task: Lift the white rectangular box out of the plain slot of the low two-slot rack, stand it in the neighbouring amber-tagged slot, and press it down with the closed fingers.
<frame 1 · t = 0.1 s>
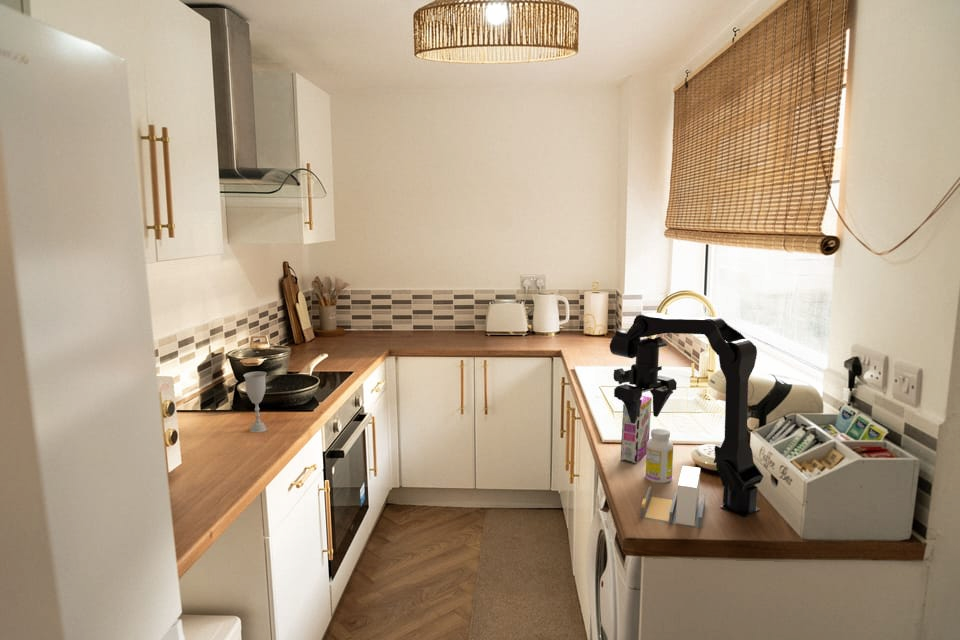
hand: (644, 419, 178), 15 cm above the countertop, tool pointing down, fingers open, 9 cm apart
slot rack: (673, 512, 158), on the countertop
candy bar box: (635, 457, 193), on the countertop
chalice: (258, 430, 214), on the countertop
white rectangular box: (687, 513, 157), resting on slot rack
supplement bottle: (658, 479, 177), on the countertop
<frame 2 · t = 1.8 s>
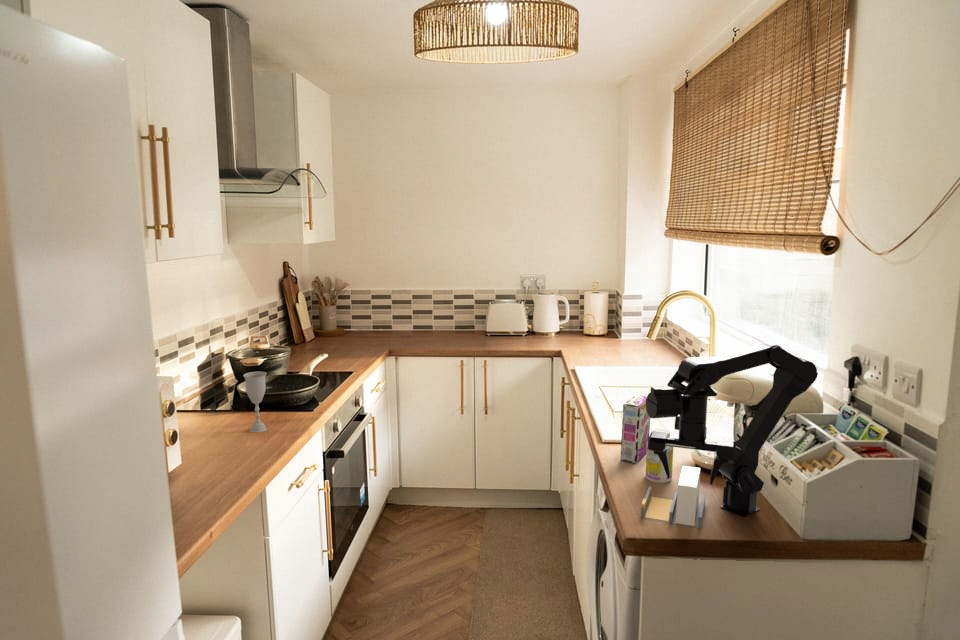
hand: (689, 480, 155), 8 cm above the countertop, tool pointing down, fingers open, 9 cm apart
nothing on the countertop moved.
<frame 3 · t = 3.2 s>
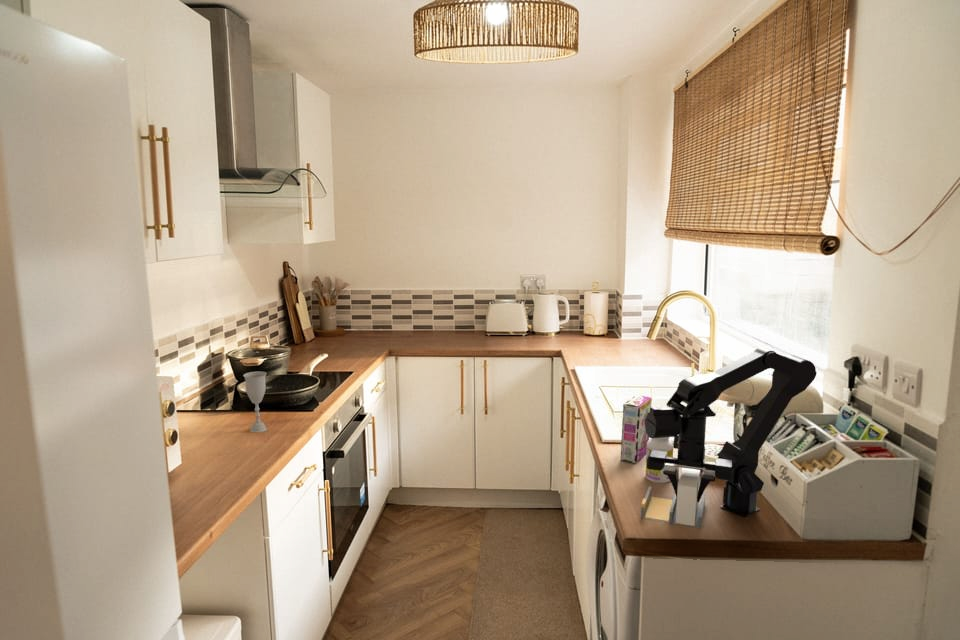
hand: (688, 500, 156), 4 cm above the countertop, tool pointing down, fingers closed on white rectangular box, 4 cm apart
white rectangular box: (687, 513, 157), resting on slot rack, touching gripper
everything else where it was.
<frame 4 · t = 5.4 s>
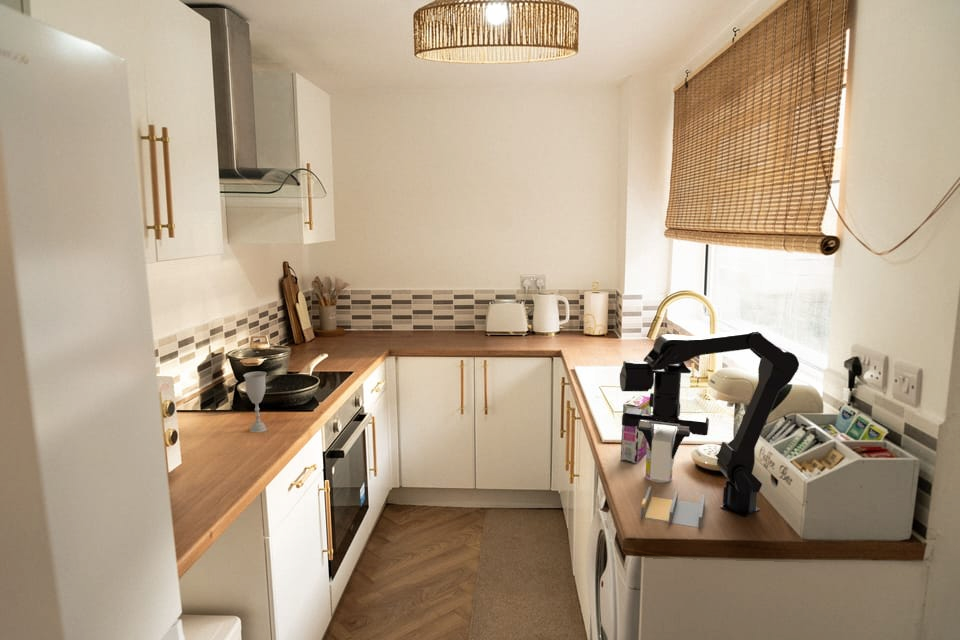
hand: (663, 456, 156), 13 cm above the countertop, tool pointing down, fingers closed on white rectangular box, 4 cm apart
white rectangular box: (662, 470, 157), point 10 cm above the countertop, touching gripper
everything else where it was.
when the fingers open (5 cm above the countertop, at t = 7.5 s): white rectangular box drops 2 cm, resting on slot rack.
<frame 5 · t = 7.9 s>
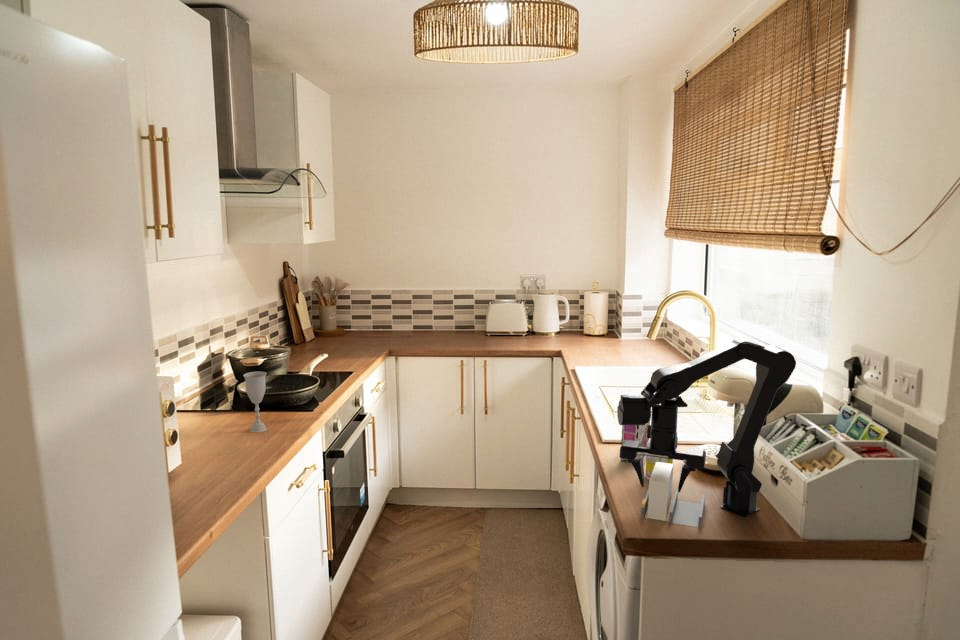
hand: (660, 489, 158), 5 cm above the countertop, tool pointing down, fingers open, 8 cm apart
white rectangular box: (659, 508, 159), resting on slot rack
everything else where it was.
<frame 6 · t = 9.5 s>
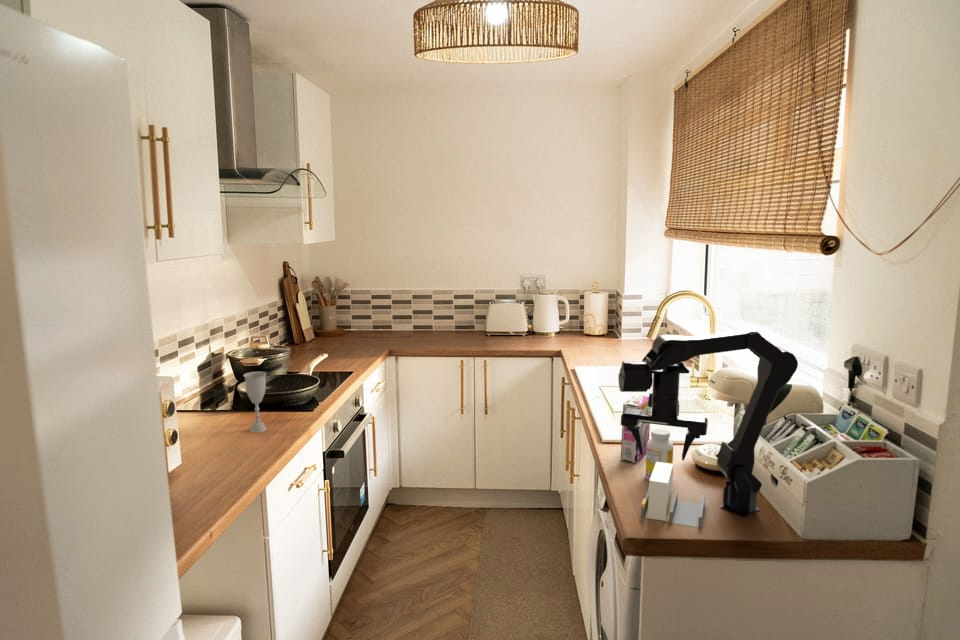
hand: (662, 457, 157), 13 cm above the countertop, tool pointing down, fingers open, 9 cm apart
nothing on the countertop moved.
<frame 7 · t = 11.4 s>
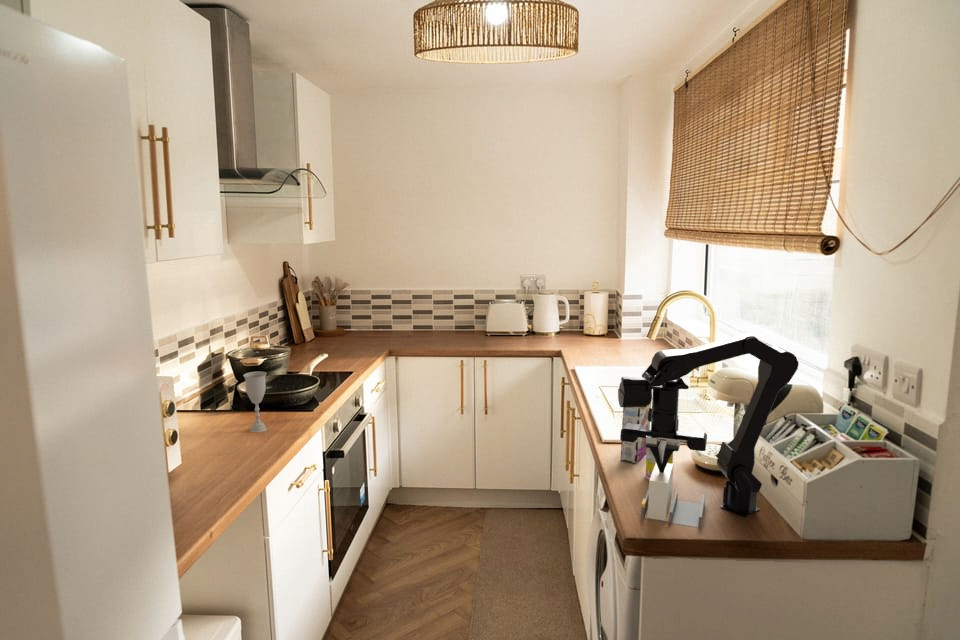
hand: (661, 472, 157), 9 cm above the countertop, tool pointing down, fingers closed, pressing on white rectangular box
white rectangular box: (659, 508, 159), resting on slot rack, touching gripper
everything else where it was.
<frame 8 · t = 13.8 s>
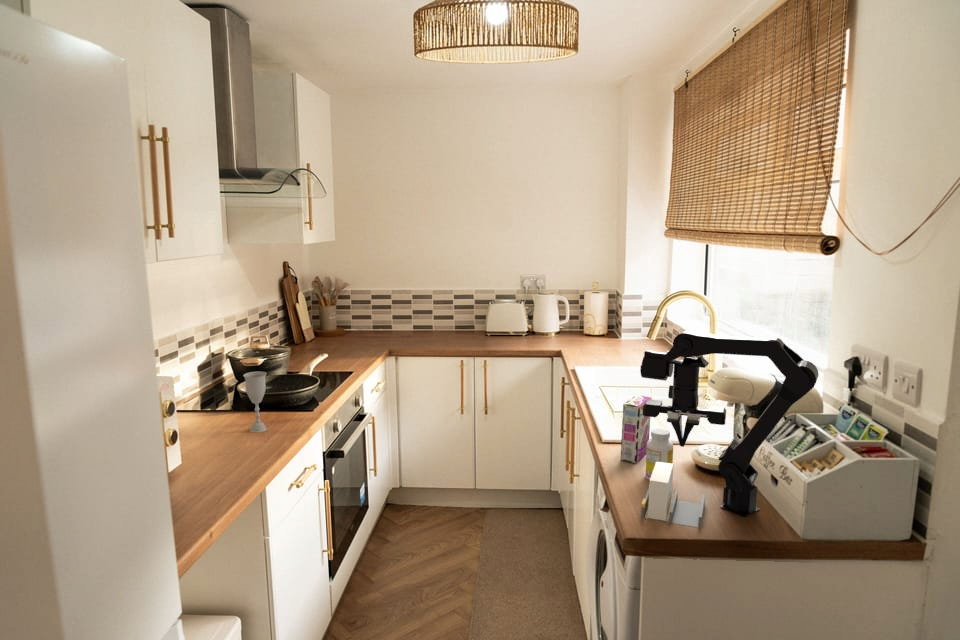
hand: (682, 446, 164), 13 cm above the countertop, tool pointing down, fingers closed
white rectangular box: (660, 508, 159), resting on slot rack
everything else where it was.
at the end: white rectangular box 0.2 cm from the target spot, resting on slot rack; white rectangular box tilted 0°; the gripper is holding nothing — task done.
